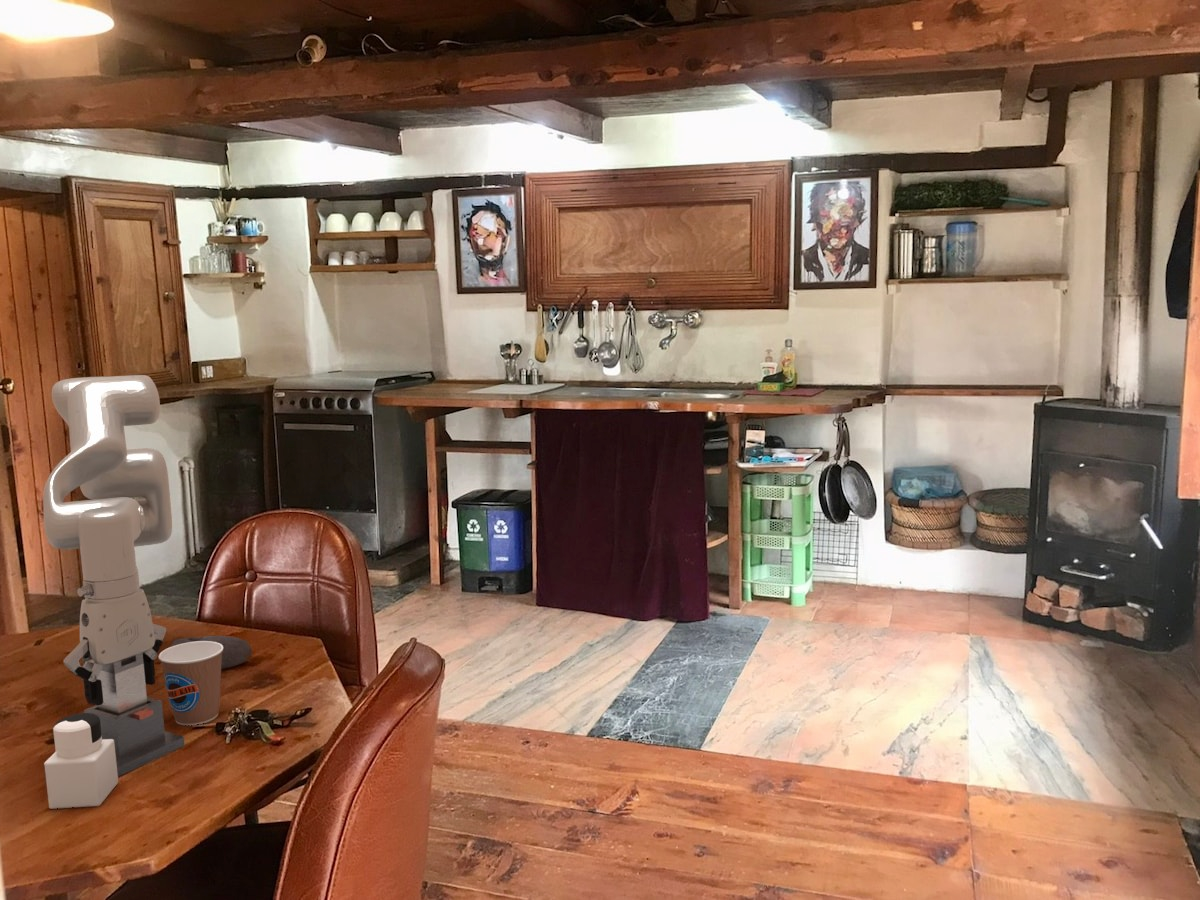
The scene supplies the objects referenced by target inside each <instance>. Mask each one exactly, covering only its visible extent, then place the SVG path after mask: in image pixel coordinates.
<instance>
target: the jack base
mask: <svg viewBox="0 0 1200 900" xmlns="http://www.w3.org/2000/svg"><path fill="white" fill-rule="evenodd" d="M83 713H91V714H95V715H97V716H98V717H99V718H100V724H101V734H102V740H103V739H113V740H114V744H115V754H116V764H117V774H118V778H119V777H120V776H123V775H125V774H127V773H130V772H131V771H134V770H136V769H138V768H140V767H142V766H144V765H147V764H149V763H150V762H153V761H155V760H157V759H159V758H161V757H164V756H165V755H168V754H170V753H172V752H175V751H176V750H178V749H179V750H180V748H183V747H185V746H186V743H185V736H182V735H179V734H175V733H172V732H169V731H166V730H165V723H164V722H165V721H164V712H163V702H162V700H159V699H156V698H152V697H148V696H147V704H146V705H144V706H141V707H139V708H136V709H134V710H131V711H129V712H126V713H124V714H122V715H119V716H116V715H113V714H110V713H106V712H103V711H100V710H99V705H95V704H94V705H93V706H91V707H88V708H85V709H83Z"/></svg>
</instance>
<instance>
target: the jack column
mask: <svg viewBox="0 0 1200 900" xmlns="http://www.w3.org/2000/svg"><path fill="white" fill-rule="evenodd" d="M97 679H99V680H101V683H102V692H103V704H101V705H99V710H100V711H103V712H106V713H110V714H113V715H116V716H119V715H122V714H124V713H126V712H129V711H131V710H134V709H136V708H139V707H141V706H144V705H146V704H147V697H148V695H147V686H146V683H145V673H144V663H143V653H141V654H138V655H136V656H133V657H130V658H128V659H125V660H122V661H118V662H116V663H113V664H110V665H106V666H103V667H102V669H101V671H100V673H99V676H98V678H97Z"/></svg>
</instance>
